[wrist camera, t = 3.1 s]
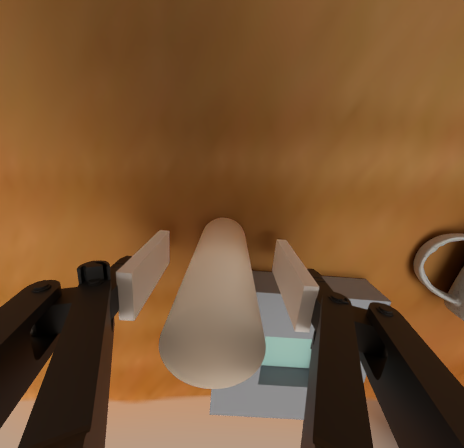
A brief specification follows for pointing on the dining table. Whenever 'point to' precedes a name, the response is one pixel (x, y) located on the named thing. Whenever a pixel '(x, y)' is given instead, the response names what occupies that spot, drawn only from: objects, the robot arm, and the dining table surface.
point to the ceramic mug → (460, 294)
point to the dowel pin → (215, 314)
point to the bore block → (283, 354)
